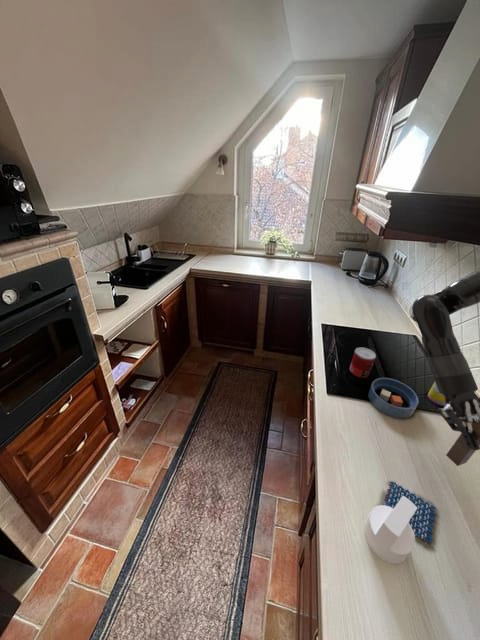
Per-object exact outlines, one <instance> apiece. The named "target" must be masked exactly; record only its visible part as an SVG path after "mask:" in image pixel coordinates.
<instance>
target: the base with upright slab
mask: <svg viewBox="0 0 480 640" xmlns="http://www.w3.org/2000/svg"><path fill="white" fill-rule="evenodd" d="M416 510H417V507H416V506H415V505H414V504H413V503H412V502H411V501H410V500H409V499H407V498H406V497H405V496H402V497H401V499H400V500H399V502H398V503H397V504H396V506H395V507H394V509H393V508H391V507H389V505H388V506H385V504H384V505H383V504H379V505H376V506H374V507H373V508H372V509H371V511H370V512H369V514H368V516H367V518H366V519H365V521H364V524H363V534H364V537H365V540H366V542H367V544H368V546H369V548H370V549H371V550H372V551H373V553H374V554H375V555H376V556H377V557H379V558H380V559H381V560H383V562H386V563H389V564H391V565H392V564H393V565H398V564H401V563H403V562H404V561H405V560H406V559H407V557H408V556H409V555H411V553H412V552H413V551H414V550H415V546H416V536H414V532H413V530H412V528H411V526H410V524H409V523H408V522H409V520H410V519H411V517H412V516H413V514H414V513H415V511H416ZM415 514H416V513H415Z"/></svg>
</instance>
